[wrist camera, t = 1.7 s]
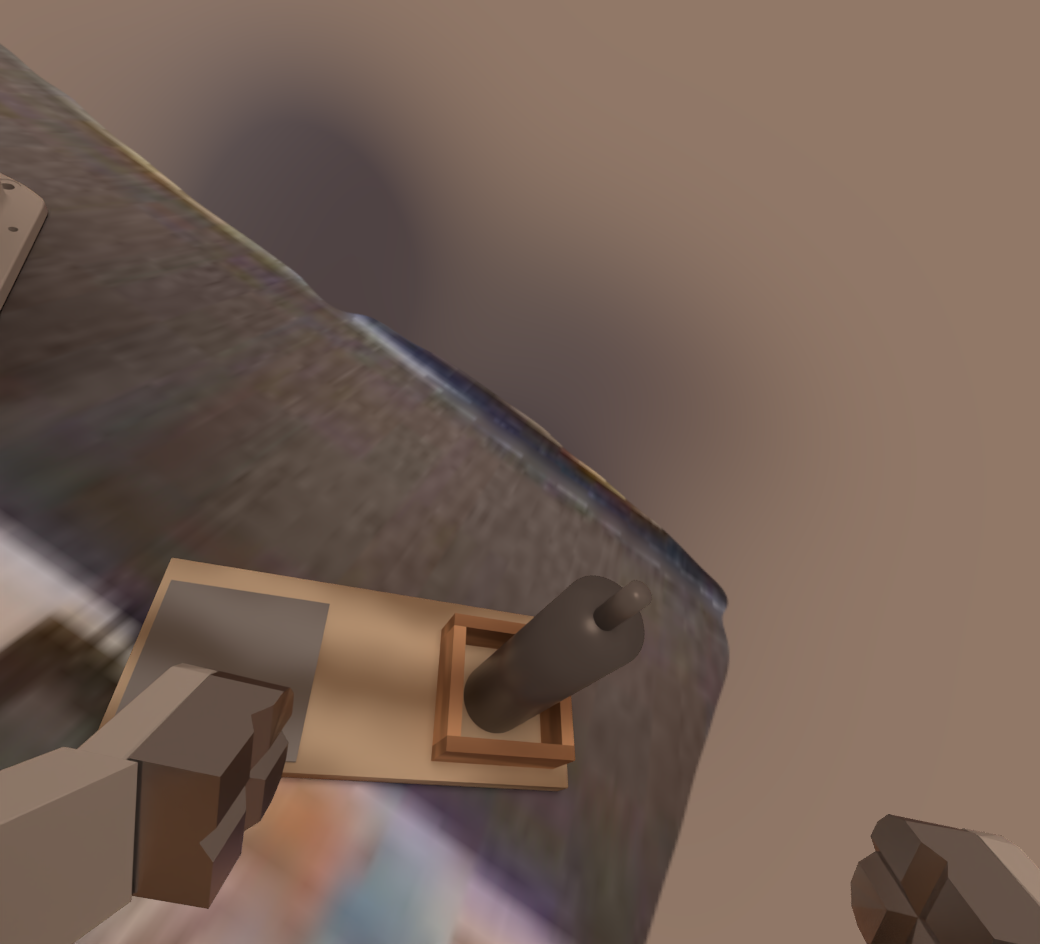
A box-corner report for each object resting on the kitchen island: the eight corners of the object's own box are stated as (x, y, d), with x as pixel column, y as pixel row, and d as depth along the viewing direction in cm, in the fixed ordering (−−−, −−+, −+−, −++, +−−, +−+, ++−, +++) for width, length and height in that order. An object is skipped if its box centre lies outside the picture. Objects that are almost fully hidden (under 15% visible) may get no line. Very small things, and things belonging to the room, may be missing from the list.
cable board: (173, 568, 34) (168, 533, 31) (549, 627, 42) (577, 605, 39) (90, 766, 27) (72, 749, 24) (557, 791, 35) (591, 780, 32)
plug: (465, 659, 36) (591, 538, 24) (525, 667, 38) (672, 557, 26) (461, 730, 34) (600, 635, 22) (526, 736, 35) (691, 650, 23)
